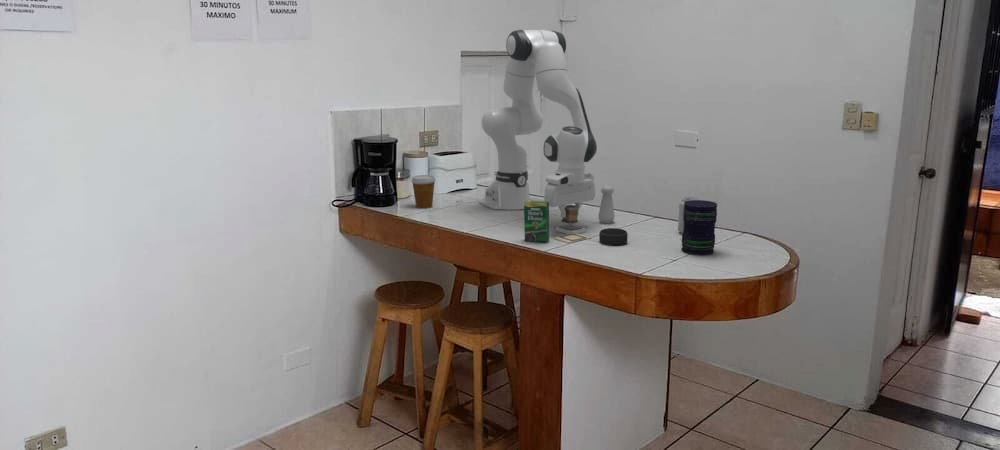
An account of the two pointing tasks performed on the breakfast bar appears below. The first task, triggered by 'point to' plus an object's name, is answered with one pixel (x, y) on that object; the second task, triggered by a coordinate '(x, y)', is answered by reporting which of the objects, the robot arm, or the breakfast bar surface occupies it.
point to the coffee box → (536, 221)
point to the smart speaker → (613, 236)
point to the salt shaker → (606, 206)
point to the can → (681, 209)
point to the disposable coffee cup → (423, 190)
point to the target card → (572, 238)
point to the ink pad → (570, 229)
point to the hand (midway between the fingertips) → (569, 216)
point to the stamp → (571, 214)
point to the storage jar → (699, 227)
